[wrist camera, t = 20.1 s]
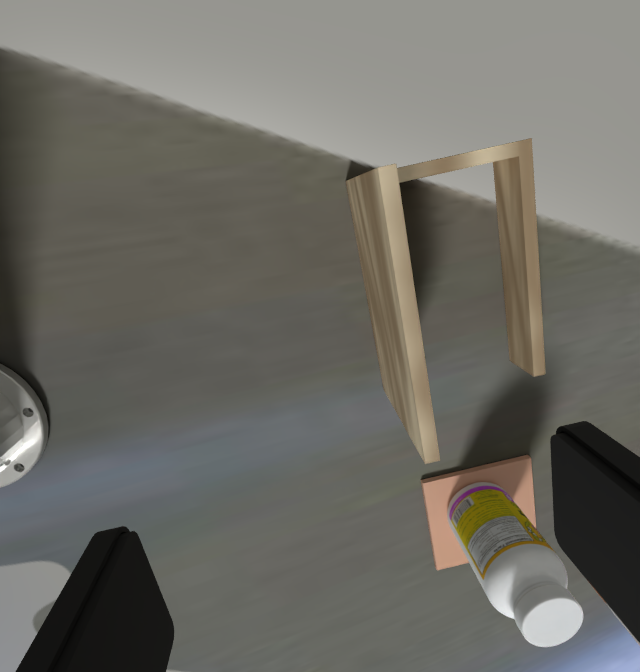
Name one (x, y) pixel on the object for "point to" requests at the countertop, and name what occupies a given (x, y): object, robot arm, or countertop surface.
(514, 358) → the shelf bay
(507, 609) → the supplement bottle
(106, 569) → the robot arm
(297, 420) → the countertop surface
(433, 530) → the coaster
